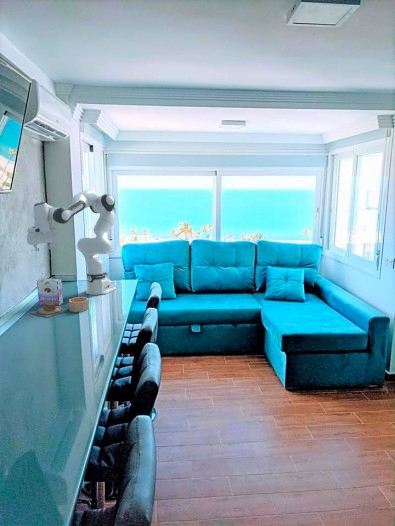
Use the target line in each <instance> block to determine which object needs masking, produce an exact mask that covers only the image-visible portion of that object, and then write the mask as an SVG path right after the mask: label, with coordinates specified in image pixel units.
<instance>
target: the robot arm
mask: <svg viewBox="0 0 395 526" xmlns="http://www.w3.org/2000/svg"><path fill="white" fill-rule="evenodd" d="M71 203H72V204H70V205H69V206H67V207H54V206H52V205H50V204H48V203H47V202H45V201H42V202H37V203H34V205H33V208H32V209H33V210H32V211H33V213H32V215H33V216H32V217H33V220H34V222H33V226H31V227H29V228H27V230H26V232H27V234H26V242H27V244H28V245H29V246H33V247H34V250H35V252H40V248H39V247H38V245H41V244H46V243H48V244H49V245H48V247H47V249H48V250H52V247H53V244H54V243H55V242H58V234H57V233H58V232H57V228H55V227H50V223H56V224H61V225H63V224H67V223H68V222H69V221H70V220H71V218H73V216H76V214H78V213H80V212H82V211H83V210H84V209H88V207H89V209H90V211H91V212H92V213H94V214H99V217H98V218H97V221H96V222H95V225H94V227H93V233H94V234H95V237H83V238H80V239H79V240H77V244H76V248H77V250H78V251H79V252H80V253H81V255H82V256H83V257H84V259H85V263H86V271H87V272H86V279H87V281H86V291H85V293H86V294H87V295H91V296H93V295H94V296H95V295H107V294H109V293H111V292H113V291H115V290H117V286H116V287H115V286H114V284H113V281H112V280H110V278H108V277H106V276H108V275H109V273H108V272H106V271H105V272H104V262H103V260H102V259H100V257H99V256H98V255H106V254H107V255H108V254H109V253H110V252H111V251H112V243H111V241H110V240H109V235H110V232H111V231H112V230H111V229H112V227H113V225H114V222H115V220H116V219H115V218H116V216H115V213H114V212H113V211H114V210H115V205H116V199H115V197H114V196H113V195H112V194H110V193H105V194H103V195H100V196H99V195H98V193H97V192H96V191H95V190H94V189H86V190H82V191H81V192H78V193H76V194H75V195H73V196H72V197H71Z"/></svg>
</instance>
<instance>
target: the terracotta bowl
mask: <svg viewBox="0 0 395 526" xmlns="http://www.w3.org/2000/svg"><path fill="white" fill-rule="evenodd" d="M68 305H69V306H68V307H69V308H68V310H69V312H72V313H80V312H79V311H83V312H85V311H84V310H86V311H88V310H89V309H88V308H89V298H88V297H85V296H78V297H76V296H75V297H73V298H69V299H68ZM87 309H88V310H87Z"/></svg>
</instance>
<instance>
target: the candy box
mask: <svg viewBox="0 0 395 526" xmlns="http://www.w3.org/2000/svg"><path fill="white" fill-rule="evenodd" d="M62 283H63V282H62V278H45V277H44V278H43V277H42V278H39V279H37V280H36V286H37V296H38V298H37V299H38V305H39V306H43V303H46V302H48V303H53V304H55V306H61V305H62V304H64V300H63V299H64V298H63V285H62Z"/></svg>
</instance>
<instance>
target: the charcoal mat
mask: <svg viewBox="0 0 395 526" xmlns="http://www.w3.org/2000/svg"><path fill="white" fill-rule="evenodd" d="M68 311H69V308H68V309H67V308H63V307H62V311H61V312H59V313H56V314H51V315H40V314H38V313H37V310H34V311H30V314H31V315H34V316H39V317H43V318H46V319H49V318H52V317H53V316H56V315H60V314H62V313H65V312H68Z"/></svg>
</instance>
